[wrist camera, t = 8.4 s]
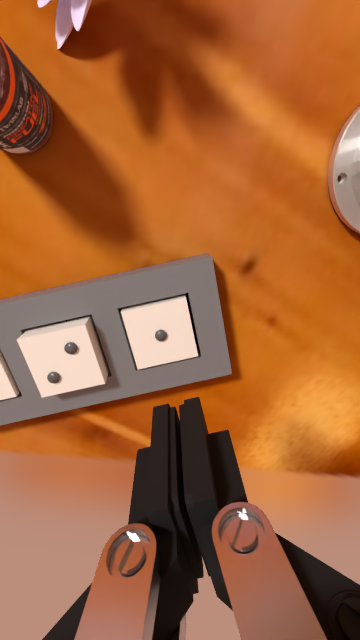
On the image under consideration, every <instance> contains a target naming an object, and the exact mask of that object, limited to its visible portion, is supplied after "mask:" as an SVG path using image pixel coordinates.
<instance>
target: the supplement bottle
mask: <svg viewBox="0 0 360 640" xmlns="http://www.w3.org/2000/svg"><path fill="white" fill-rule="evenodd" d="M52 128H53V110H52V105H51V102H50V99H49V97H48V95H47V93H46V91H45V90H44V88H43V87H42V85H41V84H40V83H39V81H38V80H37V79H36V78H35V76H34V75H33V74H32V73H31V72H30V71H29V70H28V68H27V67H26V66H25V65H24V64H23V62H22V61H21V60H20V59H19V58H18V57H17V56H16V54H15V53H14V52H13V51H12V50H11V49H10V47H9V46H8V45H7V44H6V43H5V42H4V40H3V39H2V38H1V37H0V149H1V150H4V151H7V152H11V153H15V154H28V153H32V152H35V151H37V150H38V149H40V148H41V147H42V146H43V145H44V144H45V143H46V141H47V140H48V139H49V137H50V134H51V132H52Z"/></svg>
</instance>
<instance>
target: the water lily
mask: <svg viewBox="0 0 360 640" xmlns="http://www.w3.org/2000/svg"><path fill="white" fill-rule="evenodd" d="M51 1H52V0H38V7H39V8H41V7H44V6H45V5H47V4H48V3H49V2H51ZM91 2H92V0H58V6H57V13H56V27H55V28H56V40H57V44H58V45H57V49H60V48H61V47H62V45H63V44H64V42H65V41H66V39H67V38H68V36H69V34H70V32H71V31H72V29H73V27H75V29H76V31H79V30H80V28H81V26H82V24H83V22H84V20H85V18H86V15H87V13H88V10H89V7H90V5H91Z"/></svg>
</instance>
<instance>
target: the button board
mask: <svg viewBox="0 0 360 640" xmlns="http://www.w3.org/2000/svg"><path fill="white" fill-rule="evenodd" d="M185 293H187V295H188V300H189V305H190V310H191V314H192V319H193V324H194V329H195V334H196V339H197V343H198V346H196V348H197V353H198V356H197V357H192V358H188V359H183V360H179V361H174V362H170V363H165V364H161V365H156V366H152V367H147V368H143V369H137V366H136V362H135V359H134V355H133V352H132V349H131V345H130V342H129V338H128V335H127V332H126V328H125V325H124V321H123V318H122V314H121V310H122V307H127V306H131V305H136V304H140V303H145V302H149V301H154V300H158V299H163V298H167V297H172V296H176V295H181V294H185ZM86 315H92V318H93V321H94V324H95V327H96V330H97V333H98V336H99V339H100V342H101V345H102V348H103V351H104V354H105V357H106V360H107V363H108V369H109V373H108V376H107V379H106V383H105V384H102V385H97V386H93V387H88V388H84V389H79V390H75V391H70V392H65V393H61V394H56V395H52V396H47V397H43V398H42V397H41V394H40V392H39V390H38V387H37V385H36V383H35V381H34V378H33V376H32V374H31V371H30V369H29V367H28V365H27V362H26V360H25V358H24V355H23V353H22V351H21V349H20V346H19V344H18V342H17V339H18V338H19V337H20V336H21V335H22V334H24V333H25V332H26V331H27V330H28V329H33V328H34V327H37V326H41V325H46V324H50V323H55V322H59V321H64V320H68V319H73V318H77V317H82V316H86ZM0 349H1V351H2V353H3V355H4V357H5V359H6V362H7V364H8V366H9V368H10V370H11V372H12V375H13V377H14V379H15V381H16V383H17V385H18V388H19V390H20V393H19V394H18V395H17V397H13V398H8V399H4V400H0V425H5V424H9V423H14V422H18V421H23V420H27V419H32V418H36V417H41V416H45V415H50V414H54V413H59V412H63V411H68V410H72V409H77V408H81V407H86V406H90V405H95V404H99V403H104V402H108V401H113V400H117V399H122V398H126V397H131V396H135V395H140V394H145V393H149V392H154V391H158V390H163V389H167V388H172V387H176V386H181V385H185V384H190V383H194V382H199V381H203V380H208V379H212V378H217V377H221V376H226V375H230V374H232V370H231V364H230V359H229V353H228V347H227V341H226V335H225V329H224V323H223V317H222V311H221V305H220V299H219V293H218V288H217V282H216V276H215V270H214V264H213V258H212V256H211V255H209V254H208V253H207V254H202V255H198V256H193V257H189V258H184V259H180V260H175V261H171V262H166V263H162V264H157V265H153V266H148V267H144V268H139V269H135V270H130V271H126V272H121V273H117V274H112V275H108V276H103V277H99V278H94V279H90V280H85V281H81V282H76V283H72V284H67V285H63V286H58V287H54V288H49V289H45V290H40V291H36V292H31V293H27V294H22V295H18V296H13V297H9V298H4V299H0Z"/></svg>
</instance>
